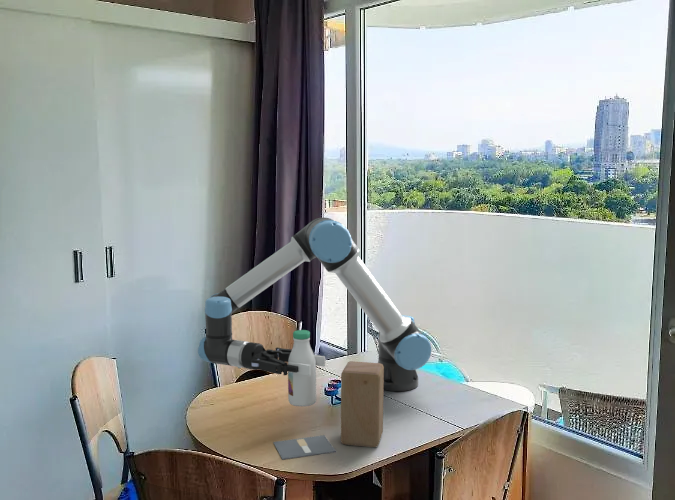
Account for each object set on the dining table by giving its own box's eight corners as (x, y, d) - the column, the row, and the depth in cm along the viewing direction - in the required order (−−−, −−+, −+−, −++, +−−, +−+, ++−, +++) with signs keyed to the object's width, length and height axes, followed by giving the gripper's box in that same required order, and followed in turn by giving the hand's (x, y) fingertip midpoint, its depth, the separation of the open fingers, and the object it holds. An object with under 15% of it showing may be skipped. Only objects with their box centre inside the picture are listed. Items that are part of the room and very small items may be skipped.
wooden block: (378, 449, 163) (379, 374, 160) (340, 445, 165) (340, 371, 162) (383, 433, 173) (384, 362, 170) (347, 430, 175) (347, 359, 172)
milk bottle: (320, 398, 178) (319, 329, 175) (310, 408, 170) (309, 336, 168) (295, 395, 180) (294, 327, 177) (283, 405, 173) (282, 334, 170)
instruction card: (324, 436, 171) (324, 434, 171) (336, 451, 161) (336, 450, 161) (273, 443, 166) (273, 441, 166) (282, 459, 157) (282, 458, 157)
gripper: (266, 357, 191) (334, 368, 181) (226, 378, 173) (298, 391, 163) (266, 333, 190) (334, 342, 180) (225, 351, 172) (298, 363, 162)
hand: (317, 365), depth 172 cm, fingers closed on milk bottle, 8 cm apart
